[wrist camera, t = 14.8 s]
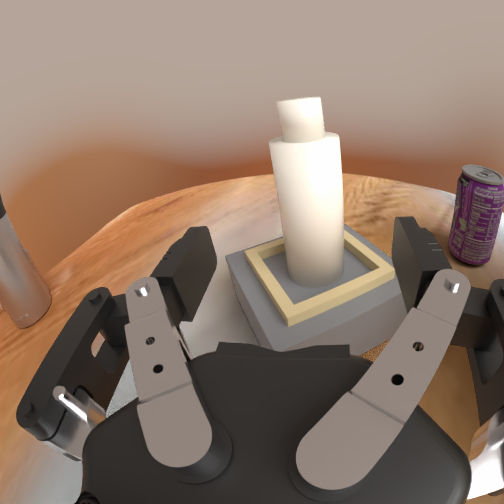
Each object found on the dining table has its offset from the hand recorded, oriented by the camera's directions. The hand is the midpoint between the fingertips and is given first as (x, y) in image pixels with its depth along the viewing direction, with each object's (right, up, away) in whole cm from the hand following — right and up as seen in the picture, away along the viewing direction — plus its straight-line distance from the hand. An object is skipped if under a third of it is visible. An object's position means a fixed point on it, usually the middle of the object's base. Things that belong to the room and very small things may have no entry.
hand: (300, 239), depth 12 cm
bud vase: (+4, -2, +14) cm, 15 cm away
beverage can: (+28, -1, +19) cm, 34 cm away
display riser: (+5, -7, +18) cm, 19 cm away
